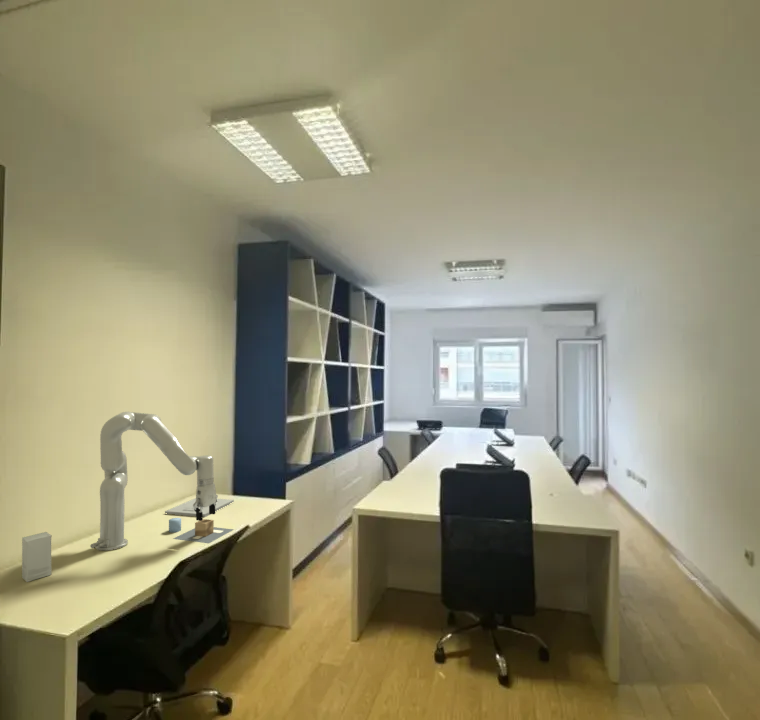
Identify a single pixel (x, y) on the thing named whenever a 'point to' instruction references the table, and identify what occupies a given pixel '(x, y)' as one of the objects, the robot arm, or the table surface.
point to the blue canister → (175, 525)
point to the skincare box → (36, 556)
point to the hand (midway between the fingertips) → (205, 517)
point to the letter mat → (208, 539)
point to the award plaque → (188, 509)
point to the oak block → (204, 527)
